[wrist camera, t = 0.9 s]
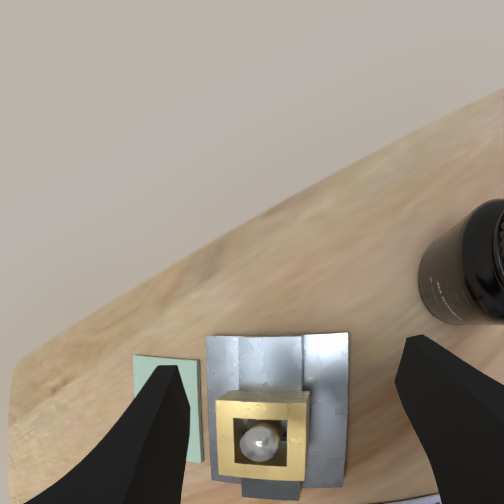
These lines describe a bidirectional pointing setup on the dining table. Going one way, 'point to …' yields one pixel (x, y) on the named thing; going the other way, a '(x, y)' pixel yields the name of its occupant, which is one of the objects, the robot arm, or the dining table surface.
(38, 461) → the dining table surface
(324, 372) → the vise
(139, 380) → the green mat
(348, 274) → the dining table surface
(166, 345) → the dining table surface
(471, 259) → the supplement bottle
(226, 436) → the brass collar
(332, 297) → the dining table surface
